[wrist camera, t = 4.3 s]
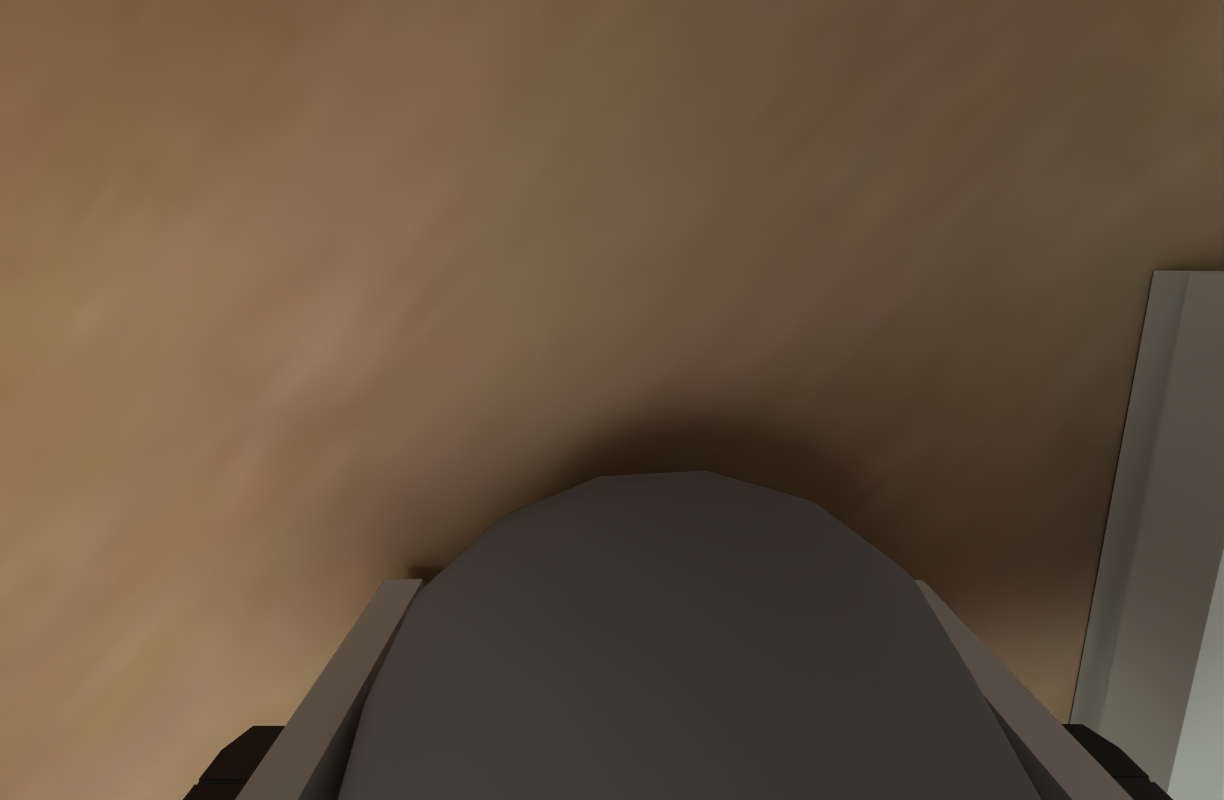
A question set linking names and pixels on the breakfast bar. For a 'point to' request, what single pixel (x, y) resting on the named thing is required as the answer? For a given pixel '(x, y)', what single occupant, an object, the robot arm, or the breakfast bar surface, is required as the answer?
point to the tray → (1166, 553)
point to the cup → (676, 662)
